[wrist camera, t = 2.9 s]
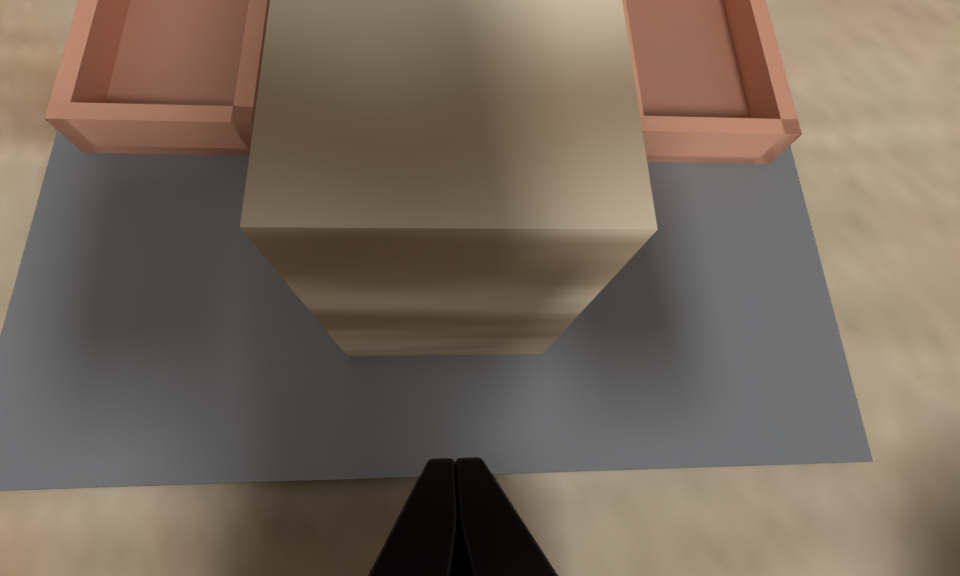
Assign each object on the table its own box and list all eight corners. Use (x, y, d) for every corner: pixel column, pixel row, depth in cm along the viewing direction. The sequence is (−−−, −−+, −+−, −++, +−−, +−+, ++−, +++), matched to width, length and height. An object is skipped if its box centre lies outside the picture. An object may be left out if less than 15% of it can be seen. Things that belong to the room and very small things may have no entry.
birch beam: (542, 353, 16) (657, 229, 8) (347, 356, 16) (239, 226, 7) (515, -30, 21) (566, -357, 13) (368, -36, 21) (320, -380, 12)
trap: (269, 155, 18) (251, 122, 16) (82, 152, 17) (44, 118, 16) (292, -40, 21) (278, -85, 19) (133, -47, 20) (105, -94, 18)
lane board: (857, 461, 16) (931, 460, 14) (-24, 491, 14) (-120, 496, 12) (699, -165, 26) (726, -231, 24) (160, -203, 24) (128, -279, 22)
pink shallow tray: (769, 163, 19) (801, 134, 17) (611, 161, 19) (628, 130, 17) (724, -20, 22) (748, -60, 20) (587, -26, 22) (599, -68, 20)
